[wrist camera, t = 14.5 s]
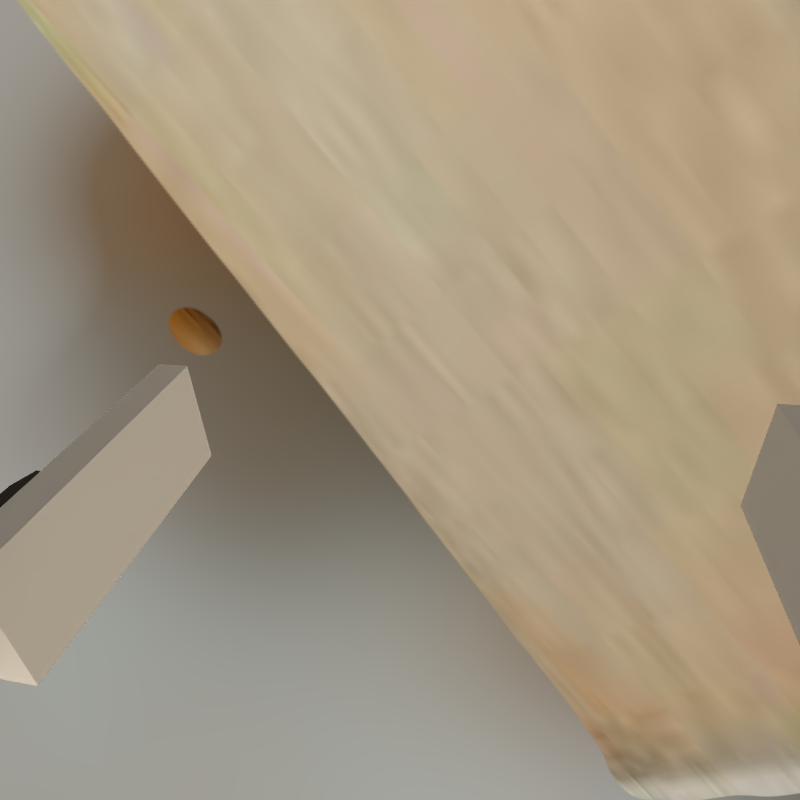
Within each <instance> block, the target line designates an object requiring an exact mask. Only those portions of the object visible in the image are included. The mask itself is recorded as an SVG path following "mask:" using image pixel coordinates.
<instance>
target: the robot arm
mask: <svg viewBox="0 0 800 800" xmlns="http://www.w3.org/2000/svg"><path fill="white" fill-rule="evenodd" d="M210 457H211V452H210V449H209V445H208V442H207V438H206V434H205V430H204V427H203V423H202V419H201V415H200V412H199V408H198V404H197V401H196V397H195V393H194V390H193V386H192V382H191V379H190V375H189V372H188V368H187V366H175V365H158V366H157V367H156V368H154V369H153V370H152V371H151V372H150V373H149V374H148V375H147V376H146V377H144V379H142V380H141V381H140V382H139V383H138V384H137V385H136V386H134V387H133V388H132V389H131V390H130V391H129V392H128V393H127V394H126V395H124V397H122V398H121V399H120V400H119V401H118V402H117V403H116V404H115V405H113V406H112V407H111V408H110V409H109V410H108V411H107V412H106V413H105V414H104V415H102V416H101V417H100V418H99V419H98V420H97V421H96V422H95V423H93V424H92V425H91V426H90V427H89V428H88V429H87V430H86V431H85V432H84V433H82V434H81V435H80V436H79V437H78V438H77V439H76V440H75V441H74V442H72V443H71V444H70V445H69V446H68V447H67V448H66V449H65V450H64V451H62V452H61V453H60V454H59V455H58V456H57V457H56V458H55V459H54V460H52V461H51V462H50V463H49V464H48V465H47V466H46V467H45V468H44V469H43V470H41V471H35V472H33V473H31V474H30V475H28V476H26V477H24V478H22V479H21V480H19V481H17V482H16V483H14V484H12V485H10V486H9V487H8V488H7V489H5V491H3V492H2V493H1V494H0V678H1V679H4V680H9V681H15V682H20V683H25V684H31V685H36V686H38V685H39V684H40V682H41V681H42V680H43V679H44V677H45V676H46V675H47V673H48V672H49V671H50V669H51V668H52V667H53V665H54V664H55V663H56V661H57V660H58V659H59V657H60V656H61V655H62V653H63V652H64V651H65V649H66V648H67V647H68V645H69V644H70V643H71V641H72V640H73V639H74V637H75V636H76V635H77V633H78V632H79V631H80V630H81V628H82V627H83V626H84V624H85V623H86V621H87V620H88V619H89V618H90V616H91V615H92V613H93V612H94V611H95V610H96V608H97V607H98V606H99V604H100V603H101V602H102V600H103V599H104V598H105V596H106V595H107V594H108V592H109V591H110V590H111V588H112V587H113V586H114V584H115V583H116V582H117V580H118V579H119V578H120V576H121V575H122V573H123V572H124V571H125V570H126V568H127V567H128V566H129V564H130V563H131V562H132V560H133V559H134V558H135V556H136V555H137V554H138V552H139V551H140V550H141V548H142V547H143V546H144V544H145V543H146V542H147V540H148V539H149V538H150V537H151V535H152V534H153V532H154V531H155V530H156V529H157V527H158V526H159V525H160V523H161V522H162V521H163V519H164V518H165V517H166V515H167V514H168V512H169V511H170V510H171V509H172V507H173V506H174V505H175V503H176V502H177V501H178V499H179V498H180V497H181V495H182V494H183V493H184V491H185V490H186V489H187V487H188V486H189V484H190V483H191V482H192V481H193V479H194V478H195V477H196V475H197V474H198V473H199V471H200V470H201V469H202V467H203V466H204V465H205V463H206V462H207V461H208V459H209V458H210ZM741 507H742V510H743V512H744V514H745V517H746V519H747V521H748V524H749V526H750V528H751V531H752V533H753V536H754V538H755V540H756V543H757V545H758V547H759V550H760V552H761V555H762V557H763V559H764V562H765V564H766V566H767V569H768V571H769V573H770V576H771V578H772V581H773V583H774V585H775V588H776V590H777V592H778V595H779V597H780V599H781V602H782V604H783V607H784V609H785V611H786V614H787V616H788V618H789V621H790V623H791V625H792V628H793V630H794V633H795V635H796V637H797V640H798V642H799V644H800V405H787V404H777V407H776V410H775V412H774V415H773V418H772V421H771V423H770V426H769V429H768V432H767V434H766V437H765V440H764V443H763V445H762V448H761V451H760V454H759V456H758V459H757V462H756V465H755V468H754V470H753V473H752V476H751V479H750V481H749V484H748V487H747V490H746V492H745V495H744V498H743V501H742V503H741Z"/></svg>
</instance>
